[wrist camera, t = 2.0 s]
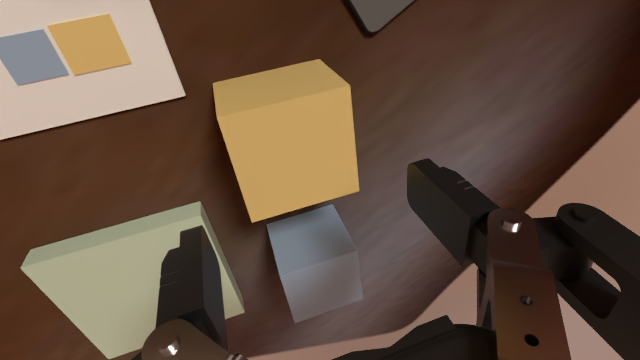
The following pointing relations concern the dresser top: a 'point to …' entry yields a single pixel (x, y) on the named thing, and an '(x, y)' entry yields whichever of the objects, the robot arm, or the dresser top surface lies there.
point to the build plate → (121, 276)
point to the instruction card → (79, 62)
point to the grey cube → (316, 262)
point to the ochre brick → (288, 137)
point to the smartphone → (376, 12)
